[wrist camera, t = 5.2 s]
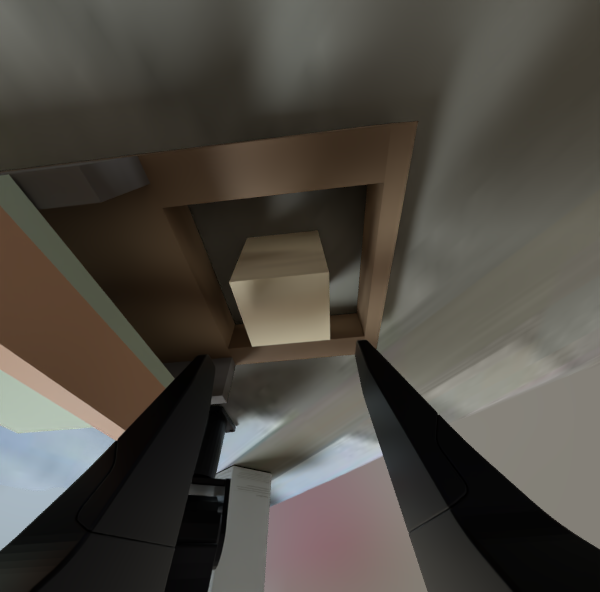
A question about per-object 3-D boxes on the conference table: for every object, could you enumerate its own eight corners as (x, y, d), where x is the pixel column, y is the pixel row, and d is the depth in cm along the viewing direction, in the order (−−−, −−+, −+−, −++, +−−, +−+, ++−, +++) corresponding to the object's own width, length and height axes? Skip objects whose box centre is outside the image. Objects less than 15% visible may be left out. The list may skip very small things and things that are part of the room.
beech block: (320, 287, 16) (330, 339, 12) (261, 293, 16) (252, 346, 12) (317, 229, 13) (329, 272, 9) (247, 237, 13) (229, 282, 10)
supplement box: (233, 464, 39) (208, 608, 27) (272, 472, 43) (265, 602, 31) (209, 476, 43) (178, 606, 31) (247, 482, 47) (232, 601, 35)
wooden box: (366, 328, 19) (389, 389, 14) (99, 353, 20) (44, 418, 15) (393, 122, 10) (470, 117, 6) (-83, 181, 11) (-329, 215, 7)
